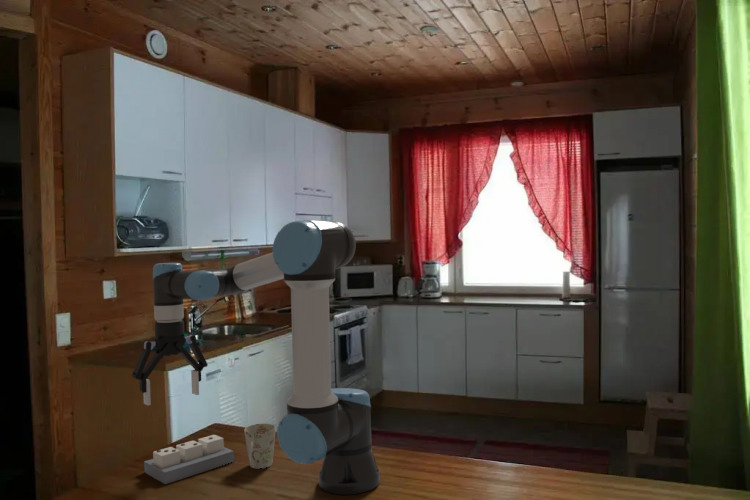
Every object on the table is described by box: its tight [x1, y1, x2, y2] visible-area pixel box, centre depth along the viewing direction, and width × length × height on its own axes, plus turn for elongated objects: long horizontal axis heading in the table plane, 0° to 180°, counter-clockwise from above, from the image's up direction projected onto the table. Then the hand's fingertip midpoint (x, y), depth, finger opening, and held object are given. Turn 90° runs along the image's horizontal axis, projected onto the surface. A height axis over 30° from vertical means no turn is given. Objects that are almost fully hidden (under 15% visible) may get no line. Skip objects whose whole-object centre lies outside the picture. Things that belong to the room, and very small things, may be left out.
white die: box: [175, 440, 203, 462], centre depth 165 cm, size 5×5×4 cm
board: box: [143, 446, 235, 485], centre depth 165 cm, size 12×20×3 cm, turn 135°
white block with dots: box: [152, 446, 180, 469], centre depth 161 cm, size 5×5×4 cm
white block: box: [197, 434, 225, 455], centre depth 170 cm, size 5×5×4 cm
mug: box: [243, 423, 276, 470], centre depth 163 cm, size 8×13×10 cm, turn 174°
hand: (172, 399), depth 164 cm, fingers open, 13 cm apart
